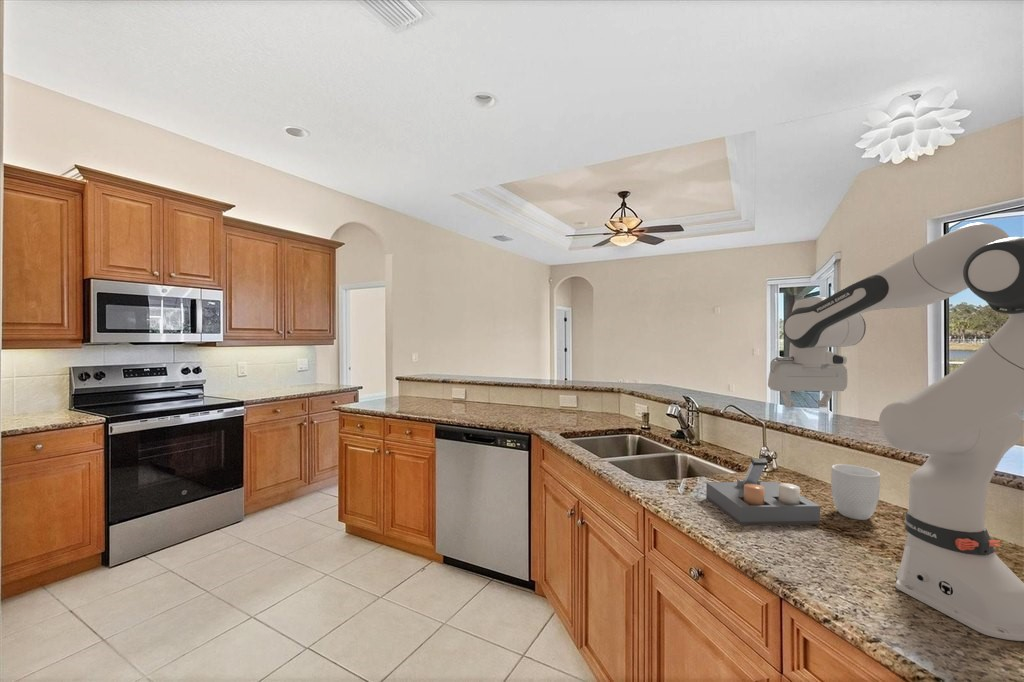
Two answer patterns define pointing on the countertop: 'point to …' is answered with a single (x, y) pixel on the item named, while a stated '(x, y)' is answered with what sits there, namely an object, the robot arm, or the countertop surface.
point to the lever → (754, 470)
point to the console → (770, 513)
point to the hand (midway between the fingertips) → (806, 407)
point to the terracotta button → (754, 494)
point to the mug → (855, 490)
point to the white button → (789, 494)
